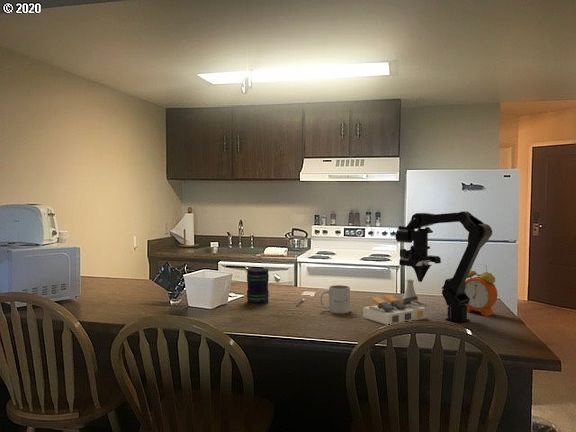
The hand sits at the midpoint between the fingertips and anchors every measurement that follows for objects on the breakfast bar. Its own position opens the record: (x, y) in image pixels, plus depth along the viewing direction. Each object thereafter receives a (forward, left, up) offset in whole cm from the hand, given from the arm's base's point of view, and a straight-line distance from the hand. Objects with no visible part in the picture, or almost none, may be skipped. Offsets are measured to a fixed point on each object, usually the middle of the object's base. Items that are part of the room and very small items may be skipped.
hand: (420, 281), depth 194 cm
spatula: (+47, +26, -14) cm, 55 cm away
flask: (+18, -13, -13) cm, 26 cm away
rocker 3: (-1, +8, -8) cm, 11 cm away
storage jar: (+53, +47, -13) cm, 72 cm away
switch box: (0, +14, -13) cm, 19 cm away
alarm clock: (-12, -21, -13) cm, 28 cm away
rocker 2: (+1, +14, -8) cm, 17 cm away
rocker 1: (0, +21, -8) cm, 22 cm away
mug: (+22, +27, -13) cm, 37 cm away
